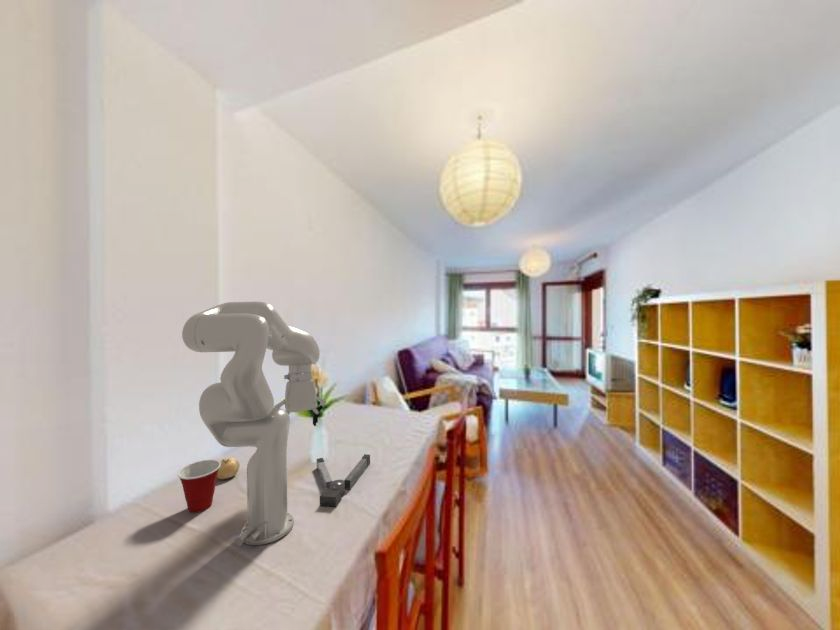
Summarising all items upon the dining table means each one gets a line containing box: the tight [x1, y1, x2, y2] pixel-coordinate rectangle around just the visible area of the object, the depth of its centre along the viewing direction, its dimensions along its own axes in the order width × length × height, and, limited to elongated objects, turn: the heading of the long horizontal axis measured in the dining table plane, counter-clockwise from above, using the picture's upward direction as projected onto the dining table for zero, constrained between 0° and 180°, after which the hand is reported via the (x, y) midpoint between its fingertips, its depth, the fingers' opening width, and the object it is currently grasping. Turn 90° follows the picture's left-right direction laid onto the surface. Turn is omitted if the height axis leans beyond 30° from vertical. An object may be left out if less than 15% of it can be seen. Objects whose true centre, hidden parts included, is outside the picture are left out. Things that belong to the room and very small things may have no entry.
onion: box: [217, 457, 241, 480], centre depth 117 cm, size 8×8×7 cm
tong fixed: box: [319, 453, 371, 509], centre depth 110 cm, size 30×6×3 cm, turn 170°
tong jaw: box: [316, 457, 346, 498], centre depth 112 cm, size 25×5×4 cm, turn 25°
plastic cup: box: [177, 459, 221, 514], centre depth 97 cm, size 11×11×12 cm
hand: (301, 427), depth 114 cm, fingers open, 8 cm apart
